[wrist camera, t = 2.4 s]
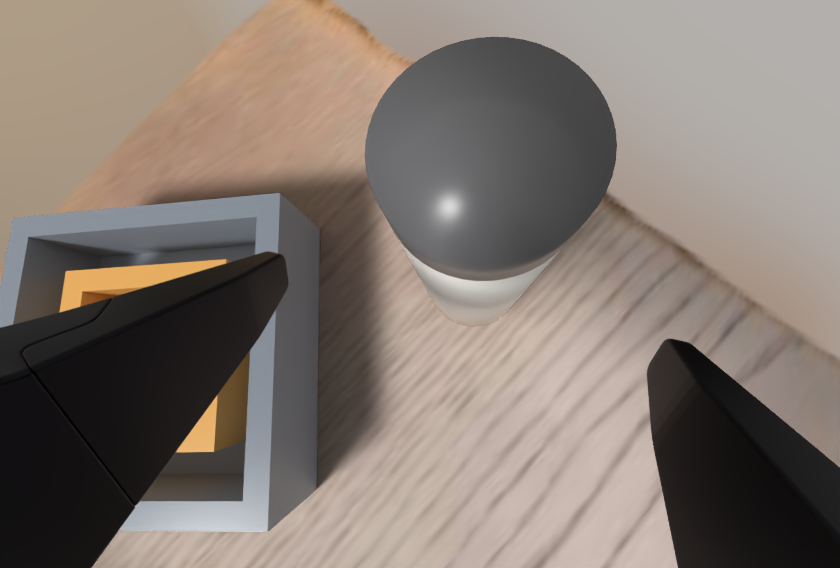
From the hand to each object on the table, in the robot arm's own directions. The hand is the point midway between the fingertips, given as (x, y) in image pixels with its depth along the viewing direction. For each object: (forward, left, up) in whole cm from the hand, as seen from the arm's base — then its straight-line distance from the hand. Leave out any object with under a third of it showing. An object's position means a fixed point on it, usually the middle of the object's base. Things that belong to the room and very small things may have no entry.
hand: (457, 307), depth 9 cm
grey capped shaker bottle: (+3, -1, -10) cm, 10 cm away
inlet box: (0, +14, -10) cm, 17 cm away
